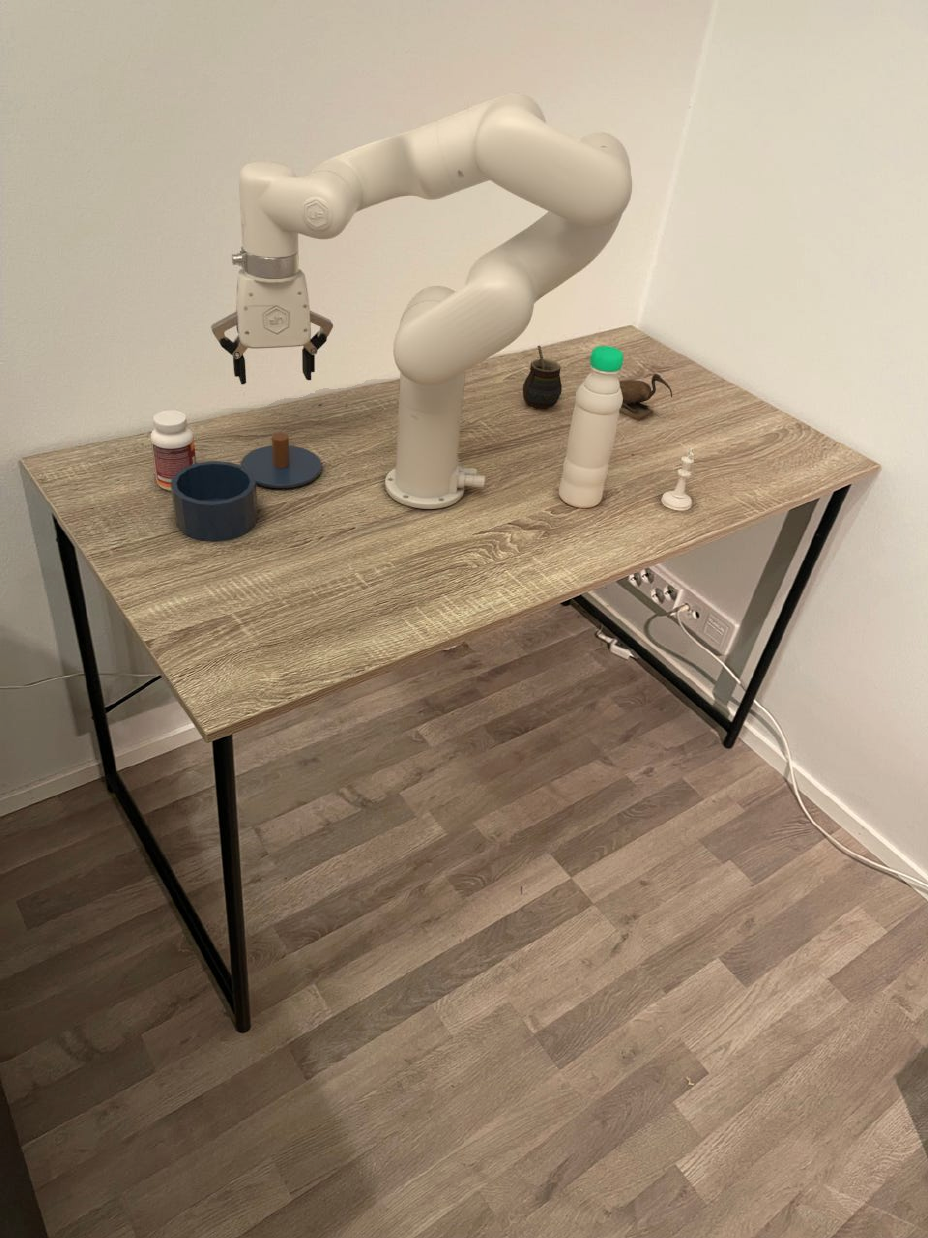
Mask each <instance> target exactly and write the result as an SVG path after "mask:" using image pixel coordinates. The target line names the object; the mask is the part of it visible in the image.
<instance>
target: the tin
mask: <svg viewBox="0 0 928 1238" xmlns="http://www.w3.org/2000/svg"><path fill="white" fill-rule="evenodd" d="M171 490H172V491H171V497H172V504H173V512H174V519H175V524H176V526H177V528H178V530H179V531H180V532H181V533H183V534H184V535H185V536H187V537H189V538H192V539H195V540H198V541H204V542H226V541H231V540H234V539H237V538H240V537H242V536H245V535H246V534H248V533H249V532H250V531H252V530H253V529H254V527H255V526H256V524H257V523H258V517H259V509H258V493H257V484H256V480H255V478H254V476H253V473H252V472H250V471H249V470H247V469H246V468H245V467H243V466H241V464H237V463H234V462H230V461H218V460H211V461H209V460H208V461H201V462H196V464H193V465H190V466H187V467H185V468H183V469H182V470H180V471H179V472H178V473H176V474H175V475H174V477H173V479H172V481H171Z"/></svg>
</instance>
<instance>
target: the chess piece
mask: <svg viewBox="0 0 928 1238" xmlns="http://www.w3.org/2000/svg"><path fill="white" fill-rule="evenodd" d="M693 451H694V448H693V447H689V448H686V449H685V450H684V452H685V453H686V454H687V455H685V456H681V468H679V469H678V470H677V474H678V475H679V477H678V480H677V482H676V485H675V488H674V490H669V491H666V492H664V493H663V495H662V497H661V500H660V501H661V503H662V504H663V506H664V507H666V508H668V509H671V510H672V511H679V512H683V511H687V510H689V509H691V507H692V505H693V500H692V498H691V497H690V496H689V495H688V494H687V493H685V490H686V483H687V478H689V477H691V475H692V472H691V468H692V466H693V464H694V463H695V459H694V457H695V453H693Z"/></svg>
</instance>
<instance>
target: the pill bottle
mask: <svg viewBox="0 0 928 1238" xmlns="http://www.w3.org/2000/svg"><path fill="white" fill-rule="evenodd" d="M152 421H153V427H154V428H153V429H152V431H151V432H150V444H151V445H150V446H151V451H152V458H153V467H154V473H155V480H156V483H157V485H158V487H160V488H161V489H163V490H164V491H165V490H166V491H168V492H172V490H171V481H172V479H173V477H174V475H175V474H176V473H178V472H179V471H180V470H182V469H183V468H185V467H187V466H190V465H193V464H196V463H197V457H196V448H195V447H196V445H195V438H194V437H195V436H194V433H193V431H192V429H191V428H190V427H188V421H187V416H186V414H185V413H184V412H182V411H179V410H171V409H170V410H162V411H159V412H157V413H155V414H154V416H153V417H152Z"/></svg>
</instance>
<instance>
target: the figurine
mask: <svg viewBox="0 0 928 1238" xmlns="http://www.w3.org/2000/svg"><path fill="white" fill-rule="evenodd" d="M656 382H658V383H661V384H663V385H664V386H665V387H666V388H667V389H668V390H669V393H670V397H671V398H673V392H672V389H671V387H670V385H669V384H668V383H667V382H666V380H665V379H663V378H662V377H661V375H660V374H658V373H654V374H653V375H652V377H651V386H650V385H649V383H647V382H646V381H642V380H635V379H634V380H633V379H631V380H619V383H620V389H621V392H622V396H623V402H622V406H621V408H620V409H619V412H620V413H623V414H625V415H627V416H629V417H632V418H634V419H635V420H637V421H642V420H643V419H646V418H648V417H650V416H652V415H653V414H654V409H653V408H652V409H651V408H650V406H649V405H647V404H644V402H647V401H649V400H650V399H651V398H652V397H653V396H654V395H655V393H656V392H657V387H656ZM651 387H652V388H651Z"/></svg>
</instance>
